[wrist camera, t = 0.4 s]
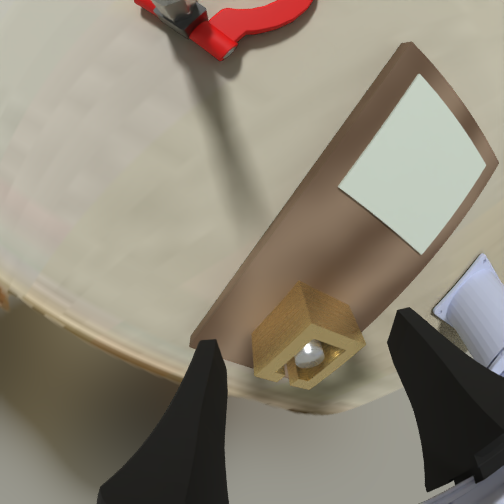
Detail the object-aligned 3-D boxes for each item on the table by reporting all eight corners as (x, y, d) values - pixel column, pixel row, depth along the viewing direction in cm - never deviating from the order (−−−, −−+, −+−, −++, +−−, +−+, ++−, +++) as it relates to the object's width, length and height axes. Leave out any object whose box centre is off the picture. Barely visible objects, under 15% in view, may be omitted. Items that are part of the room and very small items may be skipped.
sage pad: (484, 164, 14) (486, 165, 14) (420, 253, 18) (421, 254, 18) (418, 73, 11) (419, 73, 11) (337, 186, 15) (338, 187, 15)
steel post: (318, 316, 20) (330, 354, 17) (302, 332, 21) (311, 370, 18) (298, 307, 20) (308, 347, 17) (282, 324, 21) (289, 364, 17)
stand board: (489, 158, 15) (499, 162, 14) (300, 372, 26) (302, 381, 25) (401, 43, 11) (411, 41, 10) (190, 336, 23) (189, 346, 22)
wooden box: (348, 305, 20) (366, 344, 17) (300, 351, 23) (309, 389, 19) (298, 280, 19) (311, 323, 15) (251, 333, 21) (254, 376, 18)
